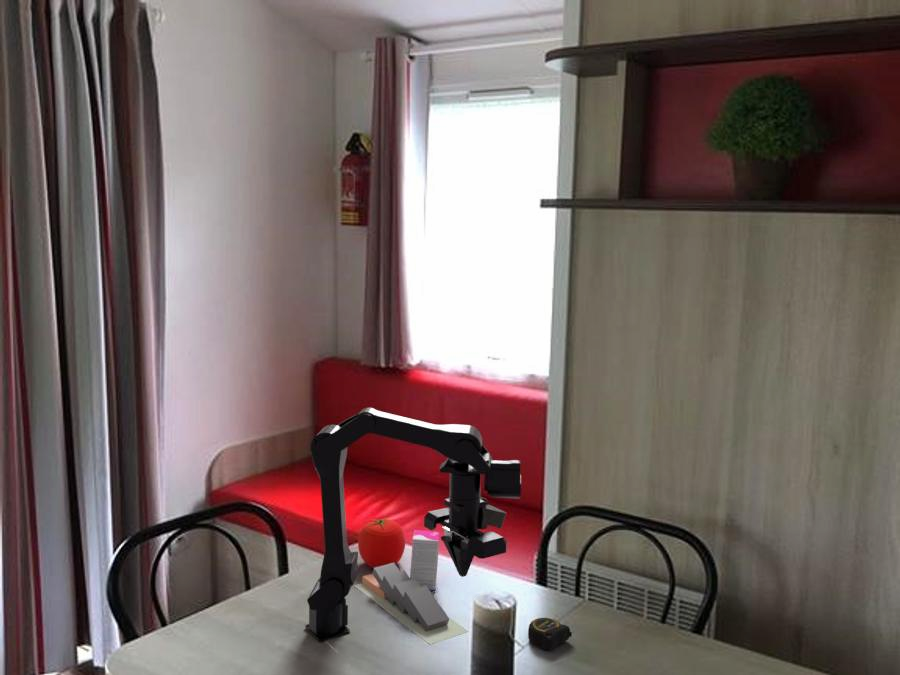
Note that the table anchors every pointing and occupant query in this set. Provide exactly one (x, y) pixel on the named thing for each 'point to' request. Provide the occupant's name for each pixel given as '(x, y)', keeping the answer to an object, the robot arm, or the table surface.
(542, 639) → the tape measure
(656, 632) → the table surface
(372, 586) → the domino
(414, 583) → the domino
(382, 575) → the domino
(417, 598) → the domino
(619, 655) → the table surface
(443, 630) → the runner
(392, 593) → the domino
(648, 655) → the table surface
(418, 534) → the supplement box
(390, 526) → the tomato
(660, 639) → the table surface
